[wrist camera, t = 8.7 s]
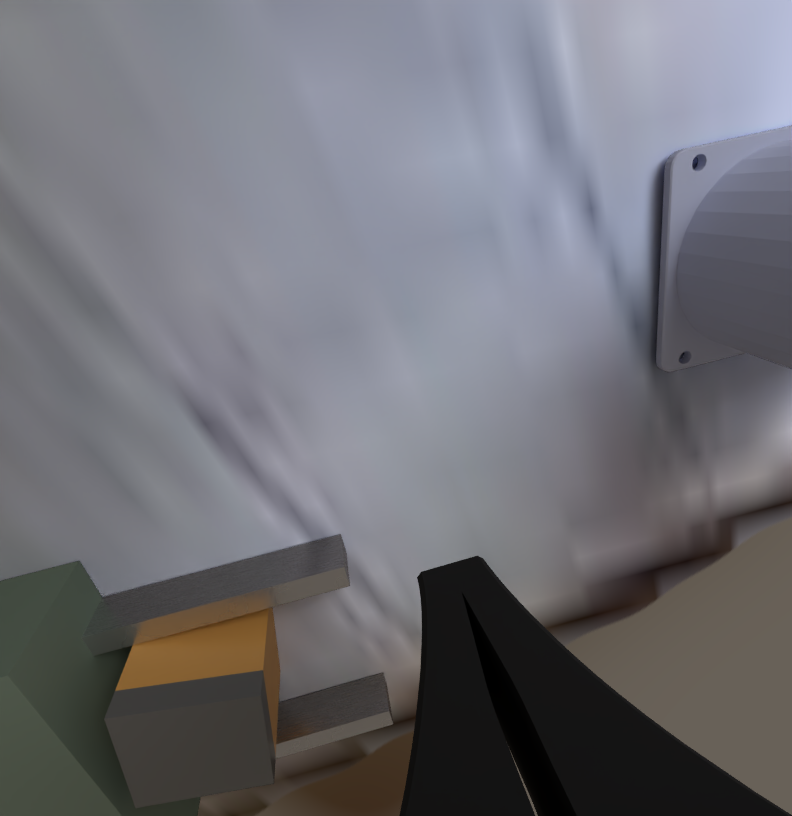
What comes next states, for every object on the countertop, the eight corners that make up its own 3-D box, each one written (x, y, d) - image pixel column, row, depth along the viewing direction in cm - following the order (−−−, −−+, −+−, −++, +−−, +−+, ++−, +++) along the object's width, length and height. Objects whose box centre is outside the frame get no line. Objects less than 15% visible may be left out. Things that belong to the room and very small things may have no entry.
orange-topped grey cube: (270, 589, 21) (260, 695, 17) (280, 669, 23) (274, 783, 19) (148, 603, 20) (104, 718, 16) (170, 684, 22) (135, 808, 18)
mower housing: (329, 496, 20) (335, 586, 15) (394, 709, 26) (412, 820, 21) (-81, 602, 18) (-206, 733, 14) (87, 799, 24) (38, 937, 20)
